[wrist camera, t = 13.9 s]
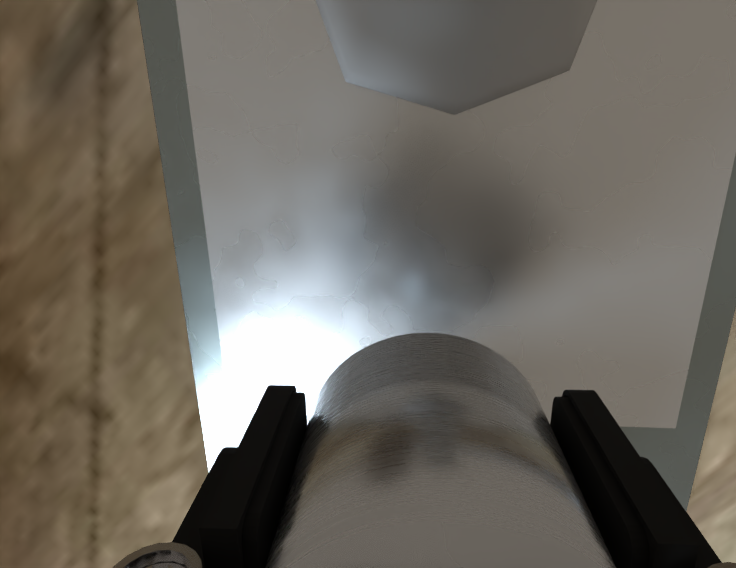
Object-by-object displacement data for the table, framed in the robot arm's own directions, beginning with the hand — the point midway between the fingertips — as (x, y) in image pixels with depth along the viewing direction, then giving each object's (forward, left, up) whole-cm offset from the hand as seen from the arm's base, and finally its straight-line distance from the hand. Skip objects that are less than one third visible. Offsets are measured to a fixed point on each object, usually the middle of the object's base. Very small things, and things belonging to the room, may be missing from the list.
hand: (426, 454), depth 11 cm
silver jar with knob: (0, 0, -1) cm, 1 cm away
